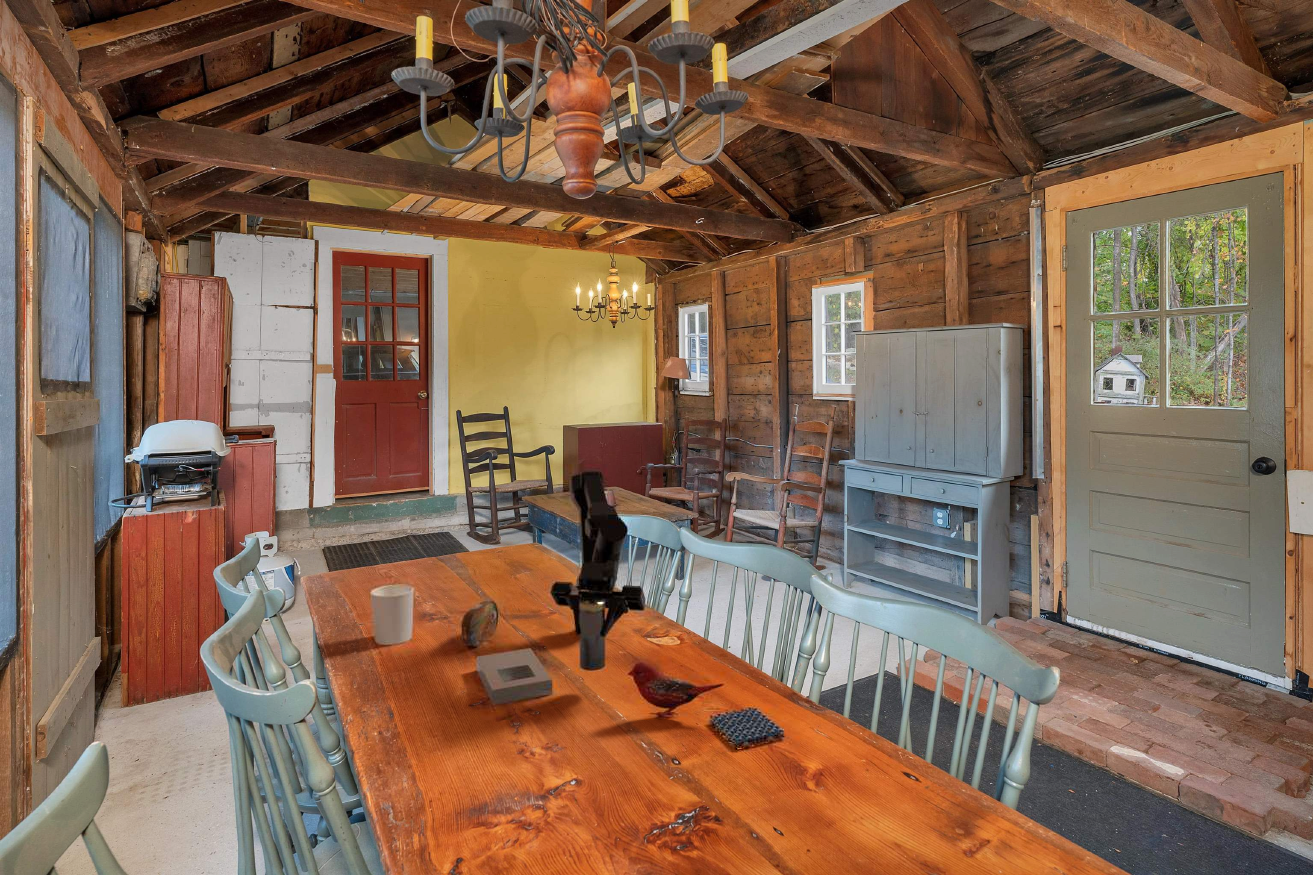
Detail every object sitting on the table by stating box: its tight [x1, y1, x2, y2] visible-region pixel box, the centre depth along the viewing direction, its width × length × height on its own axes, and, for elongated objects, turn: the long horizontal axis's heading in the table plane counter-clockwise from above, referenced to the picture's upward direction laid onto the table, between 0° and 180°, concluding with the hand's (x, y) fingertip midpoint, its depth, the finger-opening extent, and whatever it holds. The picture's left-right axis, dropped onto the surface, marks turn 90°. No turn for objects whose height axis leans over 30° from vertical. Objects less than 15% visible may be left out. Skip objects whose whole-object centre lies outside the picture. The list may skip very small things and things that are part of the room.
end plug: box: [579, 597, 606, 672], centre depth 134 cm, size 5×5×13 cm
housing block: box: [476, 647, 554, 706], centre depth 139 cm, size 12×18×3 cm, turn 24°
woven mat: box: [707, 706, 787, 749], centre depth 119 cm, size 10×11×2 cm
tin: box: [460, 600, 499, 647], centre depth 163 cm, size 15×3×8 cm, turn 168°
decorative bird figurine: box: [627, 662, 725, 717], centre depth 124 cm, size 3×18×10 cm, turn 88°
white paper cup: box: [369, 584, 415, 646], centre depth 163 cm, size 10×10×12 cm
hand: (590, 635), depth 133 cm, fingers closed on end plug, 5 cm apart
